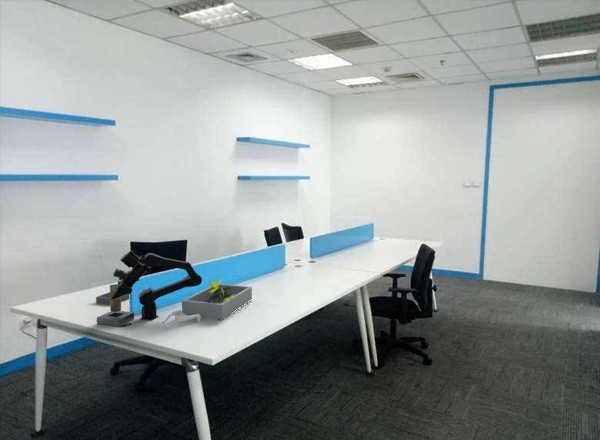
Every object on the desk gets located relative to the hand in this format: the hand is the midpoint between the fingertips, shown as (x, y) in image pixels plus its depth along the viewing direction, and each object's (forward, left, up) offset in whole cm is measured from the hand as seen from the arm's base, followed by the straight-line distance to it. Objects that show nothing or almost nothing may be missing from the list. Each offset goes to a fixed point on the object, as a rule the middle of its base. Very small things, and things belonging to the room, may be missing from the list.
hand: (112, 297), depth 209 cm
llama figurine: (-33, -8, -13) cm, 37 cm away
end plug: (-1, -1, -7) cm, 7 cm away
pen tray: (+25, -33, -12) cm, 43 cm away
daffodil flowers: (-37, -39, -11) cm, 54 cm away
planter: (-38, -39, -12) cm, 56 cm away
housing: (-1, -1, -12) cm, 13 cm away
